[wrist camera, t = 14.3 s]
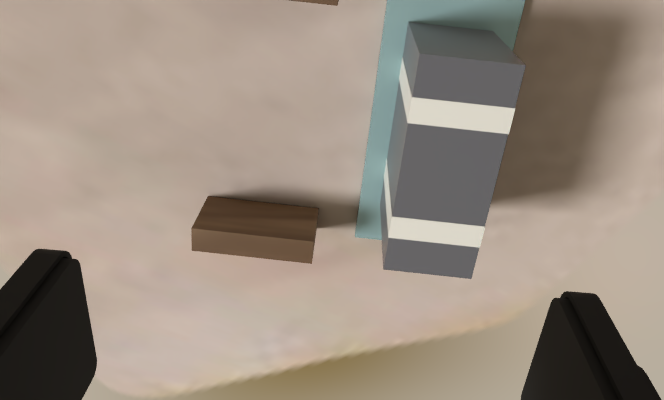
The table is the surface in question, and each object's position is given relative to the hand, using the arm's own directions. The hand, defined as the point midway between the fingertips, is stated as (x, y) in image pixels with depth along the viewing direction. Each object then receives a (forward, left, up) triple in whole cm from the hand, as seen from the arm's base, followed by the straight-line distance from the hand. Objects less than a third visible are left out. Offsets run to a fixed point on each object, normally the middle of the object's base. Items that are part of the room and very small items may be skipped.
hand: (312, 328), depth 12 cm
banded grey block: (+3, +5, -23) cm, 24 cm away
